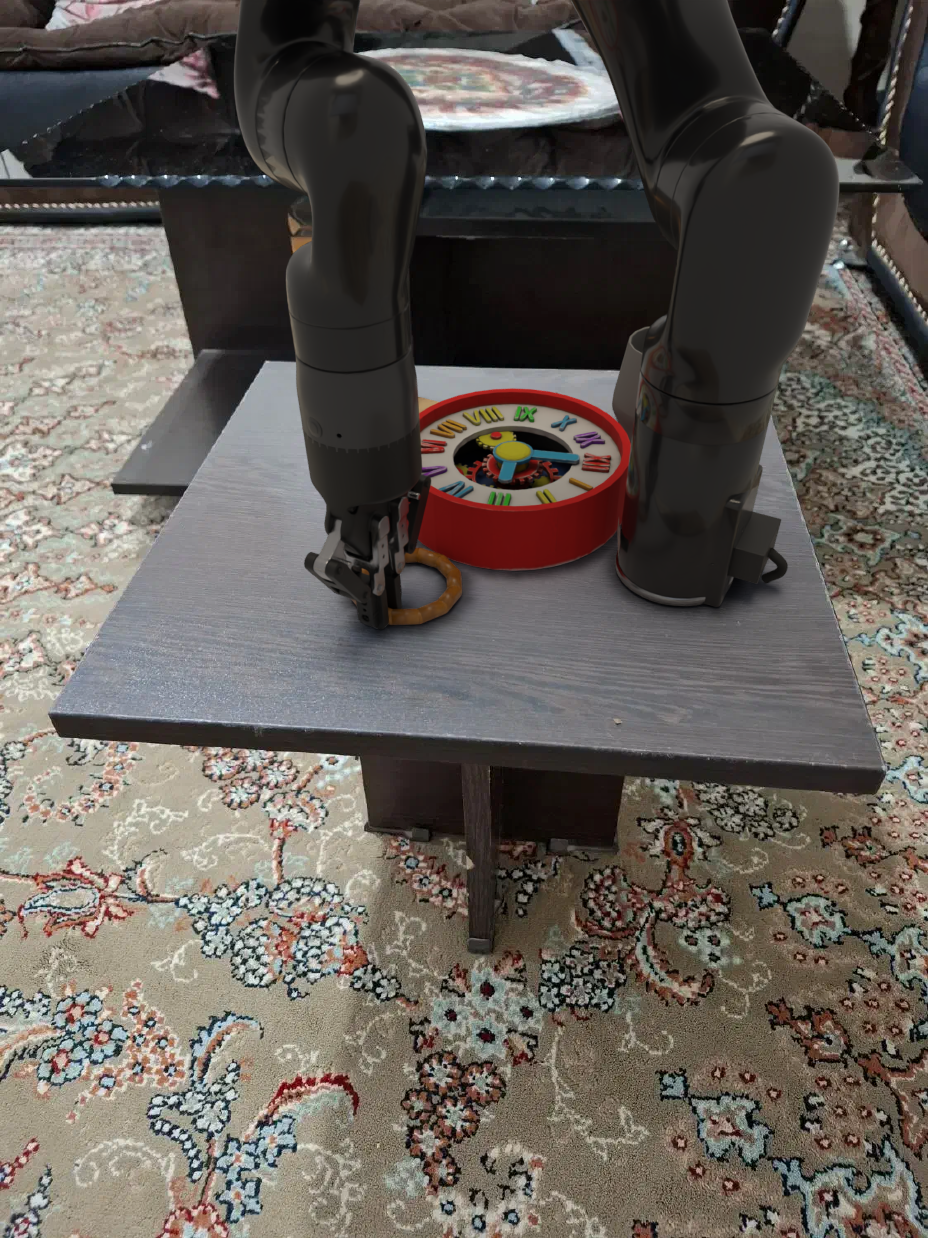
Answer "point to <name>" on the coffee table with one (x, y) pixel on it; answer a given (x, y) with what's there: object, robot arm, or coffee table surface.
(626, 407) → the cup
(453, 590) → the ring
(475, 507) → the toy clock
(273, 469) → the coffee table surface
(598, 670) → the coffee table surface
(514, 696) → the coffee table surface
